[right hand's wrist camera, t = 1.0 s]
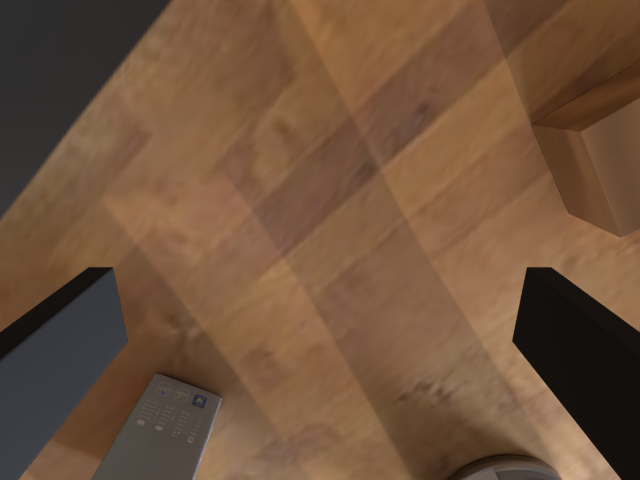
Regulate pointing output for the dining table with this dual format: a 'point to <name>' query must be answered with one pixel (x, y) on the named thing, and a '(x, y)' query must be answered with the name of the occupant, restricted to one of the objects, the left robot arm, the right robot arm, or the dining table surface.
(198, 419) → the hard drive box
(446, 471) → the dining table surface
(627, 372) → the right robot arm
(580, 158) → the wooden beam
